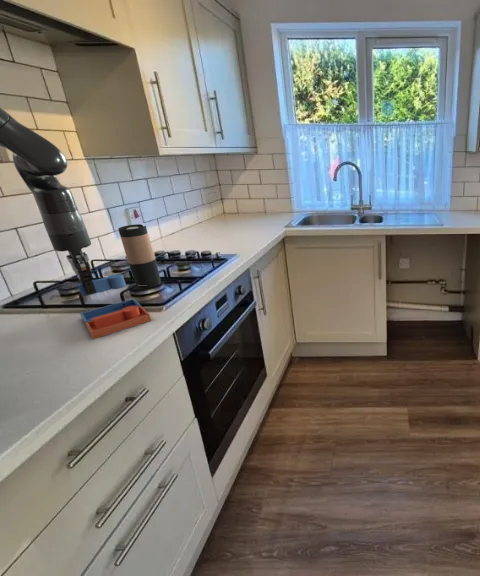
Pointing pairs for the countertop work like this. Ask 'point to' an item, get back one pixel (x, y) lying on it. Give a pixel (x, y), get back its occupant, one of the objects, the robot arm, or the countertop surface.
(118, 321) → the orange elongated piece
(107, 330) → the terracotta tray
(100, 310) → the blue tray
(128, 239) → the travel mug
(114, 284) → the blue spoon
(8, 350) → the countertop surface
